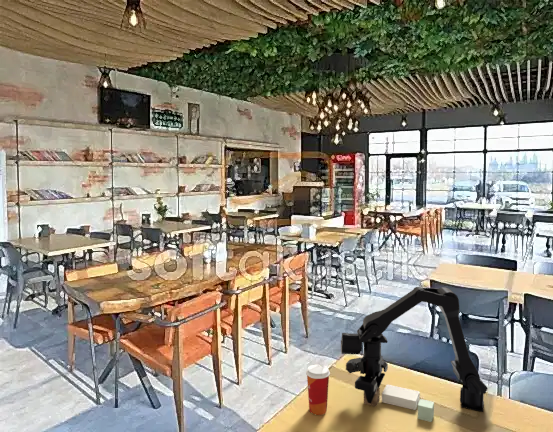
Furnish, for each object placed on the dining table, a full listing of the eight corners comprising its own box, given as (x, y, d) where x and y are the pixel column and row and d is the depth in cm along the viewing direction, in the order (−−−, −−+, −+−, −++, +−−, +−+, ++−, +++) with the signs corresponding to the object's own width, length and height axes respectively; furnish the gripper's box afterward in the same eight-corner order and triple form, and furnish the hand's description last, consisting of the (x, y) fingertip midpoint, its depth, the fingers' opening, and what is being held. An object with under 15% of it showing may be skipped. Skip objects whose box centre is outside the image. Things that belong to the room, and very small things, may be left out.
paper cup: (312, 401, 145) (312, 361, 144) (333, 408, 141) (333, 366, 140) (301, 413, 138) (301, 371, 137) (323, 419, 134) (323, 376, 133)
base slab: (419, 400, 146) (419, 391, 145) (415, 410, 139) (415, 401, 139) (386, 392, 151) (386, 384, 150) (381, 402, 144) (381, 393, 144)
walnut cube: (379, 400, 145) (379, 388, 145) (376, 406, 142) (376, 393, 141) (367, 397, 147) (367, 385, 147) (363, 403, 144) (363, 390, 143)
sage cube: (433, 415, 136) (434, 401, 136) (431, 422, 133) (432, 408, 132) (419, 412, 138) (420, 398, 138) (417, 418, 135) (417, 405, 134)
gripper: (357, 340, 155) (356, 381, 156) (339, 360, 139) (339, 406, 140) (388, 345, 150) (387, 388, 151) (373, 367, 133) (373, 415, 135)
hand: (371, 399), depth 145 cm, fingers open, 5 cm apart
